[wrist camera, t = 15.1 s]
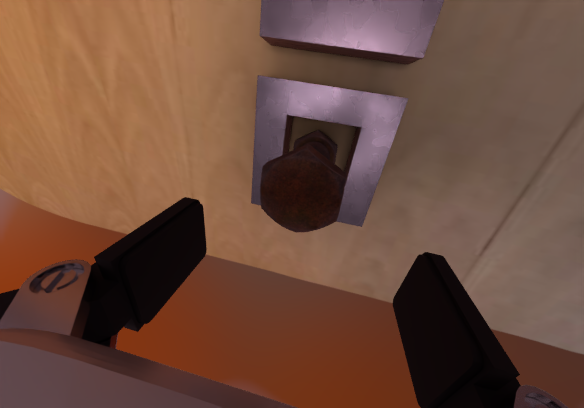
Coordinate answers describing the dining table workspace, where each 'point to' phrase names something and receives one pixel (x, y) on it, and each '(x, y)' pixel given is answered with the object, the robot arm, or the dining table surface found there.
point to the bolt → (304, 185)
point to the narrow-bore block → (352, 27)
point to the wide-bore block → (332, 108)
